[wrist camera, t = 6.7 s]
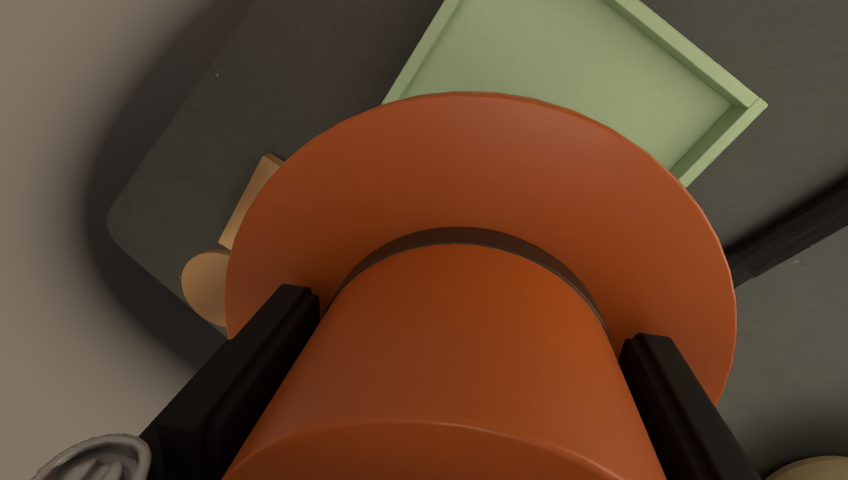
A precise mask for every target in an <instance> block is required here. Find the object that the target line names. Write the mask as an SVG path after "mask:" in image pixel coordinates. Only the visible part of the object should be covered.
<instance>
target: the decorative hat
mask: <svg viewBox="0 0 848 480" xmlns="http://www.w3.org/2000/svg"><path fill="white" fill-rule="evenodd" d="M765 480H848V457H844V456H819V457H812V458H807V459H803V460H800V461H796V462H793V463H791V464H788V465H786V466H784V467H782V468H780V469H779V470H777V471H775V472H774V473H772V474H771V475H770V476H769V477H767V478H766V479H765Z"/></svg>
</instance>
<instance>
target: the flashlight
mask: <svg viewBox="0 0 848 480" xmlns="http://www.w3.org/2000/svg"><path fill="white" fill-rule="evenodd" d="M847 225H848V181H847V182H845V183H844V184H842V185H840V186H839V187H838V188H836V189H834V190H832V191H831V192H829V193H828V194H825V195H824V196H822V197H821V198H819V199H817V200H816V201H814V202H812V203H811V204H809V205H807V206H805V207H804V208H802V209H801V210H799V211H797V212H796V213H795V214H792V215H791V216H790V217H788V218H786V219H784V220H782V221H781V222H779V223H777V224H776V225H774V226H772V227H770V228H769V229H767V230H765V231H764V232H762V233H761V234H759V235H757V236H755V237H754V238H752V239H750V241H747V242H746V243H744V244H742V245H740V246H739V247H737V248H736V249H734V250H732V251H731V252H729V253H727V254H726V255H725V257H726V260H727V263H728V265H729V268H730V271H731V277H732V282H733V288H734V289H735V287H737V286H739V285H740V284H742V283H744V282H746V281H747V280H749V279H751V278H754V277H757V276H759V275H760V274H762V273H764V272H765V271H767V270H769V269H771V268H773V267H775V266H776V265H778V264H779V263H782V262H783V261H785V260H787V259H789V258H791V257H792V256H794V255H795V254H798V253H799V252H801V251H803V250H805V249H807V248H809V247H810V246H811V245H812V244H815V243H816V242H818V241H821V240H822V239H824V238H825V237H828V236H829V235H831V234H832V233H834V232H835V231H838V230H840V229H842V228H844V227H845V226H847Z"/></svg>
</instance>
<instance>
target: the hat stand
mask: <svg viewBox="0 0 848 480" xmlns="http://www.w3.org/2000/svg"><path fill="white" fill-rule="evenodd" d="M283 163H284V162H283V161H282V160H280V159H279V158H277V157H276V156H274V155H273V154H271V153H267V154H265V155H263V156H262V158H261V160H260V162H259V164H258V166H257V168H256V170H255V172H254V174H253V176H252V178H251V179H250V181H249V183H248V185H247V187H246V189H245V191H244V193H243V195H242V197H241V199H240V201H239V203H238V205H237V206H236V208H235V210H234V212H233V214H232V216H231V218H230V220H229V222H228V224H227V226H226V228H225V230H224V232H223V233H222V235H221V237H220V239H219V241H218V242H219V243H220V244H222V245H223V246H225V247H226V248H228V249H229V250H232V246H233V242H234V239H235V236H236V234H237V232H238V229H239V227H240V225H241V223H242V220H243V218H244V216H245V214H246V211H247V210H248V208H249V207H250V205H251V204H252V202H253V200H254V199H255V197H256V196H257V194H258V193H259V191H260V190H261V188H262V187H263V185H264V184H265V183H266V182H267V181H268V180H269V178H270V177H271V176H272V175H273V174H274V173H275V172H276V171H277V170H278V168H279V167H280V166H281V165H282V164H283ZM230 253H231V251H228V250H224V249H210V250H206V251H203V252H201V253H199V254H197V255H196V256H194V257H193V258H192V259H191V260H189V262H188V263H187V264H186V266H185V267H184V270H183V273H182V280H181V282H182V289H183V292H184V295H185V297H186V299H187V301H188V303H189V304H190V306H191V307H192V308H193V309H194V310H195V311H196V312H197V313H198V314H199V315H200V316H201V317H203V318H204V319H206V320H207V321H209V322H211V323H213V324H216V325H219V326H223V327H226V323H225V305H224V289H225V280H226V271H227V265H228V261H229V257H230Z"/></svg>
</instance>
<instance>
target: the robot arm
mask: <svg viewBox="0 0 848 480" xmlns="http://www.w3.org/2000/svg"><path fill="white" fill-rule="evenodd" d="M319 323H320V301H319V296H318V295H314V294H312V291H311V288H310V287H305V286H298V285H291V284H282V285H281V286H279V288H278V289H277V290H276V291H275V292H274V293H273V294H272V295H271V297H270V298H269V299H268V300H267V301H266V302H265V303H264V304H263V305H262V307H261V308H260V309H259V310H258V311H257V312H256V313H255V314H254V315H253V317H252V318H251V319H250V320H249V321H248V322H247V323H246V324H245V325H244V327H243V328H242V329H241V330H240V331H239V332H238V333H237V334H236V335H235V337H234V338H233V339H230V340H228V341H226V342H225V343H224V344H223V345H222V346H221V347H220V348H219V349H218V350H217V351H216V352H215V354H214V355H213V356H212V357H211V358H210V359H209V360H208V361H207V362H206V363H205V365H203V367H202V368H201V369H200V370H199V371H198V372H197V373H196V374H195V375H194V376H193V378H192V379H191V380H190V381H189V382H188V383H187V384H186V385H185V386H184V387H183V388H182V390H181V391H180V392H179V393H178V394H177V395H176V396H175V397H174V398H173V399H172V401H171V402H170V403H169V404H168V405H167V406H166V407H165V408H164V409H163V410H162V411H161V413H160V414H159V415H158V416H157V417H156V418H155V419H154V420H153V421H152V422H151V423H150V425H149V426H148V427H147V428H146V429H145V430H144V431H143V432H142V433H141V434H140V435H139V437H137V436H133V435H129V434H107V435H102V436H98V437H93V438H90V439H88V440H85V441H83V442H80V443H78V444H75V445H73V446H71V447H70V448H68V449H66V450H64V451H63V452H61V453H59V454H58V455H56V456H55V457H53V458H52V459H51V460H50V461H49V462H48V463H46V464H45V465H44V466H43V467H41V468H40V469H39V470H38V472H37V473H36V474H35V475H34V477H33V478H32V479H31V480H221V479H222V478H223V476H224V474H225V473H226V471H227V470H228V468H229V466H230V465H231V463H232V462H233V460H234V458H235V457H236V455H237V454H238V452H239V450H240V449H241V447H242V446H243V444H244V442H245V441H246V439H247V438H248V436H249V435H250V433H251V431H252V430H253V428H254V427H255V425H256V423H257V422H258V420H259V419H260V417H261V415H262V414H263V412H264V411H265V409H266V407H267V406H268V404H269V403H270V401H271V400H272V398H273V396H274V395H275V393H276V392H277V390H278V388H279V387H280V385H281V384H282V382H283V380H284V379H285V377H286V376H287V374H288V372H289V371H290V369H291V368H292V366H293V364H294V363H295V361H296V360H297V358H298V357H299V355H300V353H301V352H302V350H303V349H304V347H305V345H306V344H307V342H308V341H309V339H310V337H311V336H312V334H313V333H314V331H315V329H316V328H317V326H318V325H319ZM618 364H619V366H620V368H621V371H622V373H623V376H624V378H625V380H626V383H627V385H628V388H629V390H630V392H631V395H632V397H633V400H634V402H635V404H636V407H637V409H638V412H639V414H640V416H641V419H642V421H643V424H644V426H645V429H646V431H647V433H648V436H649V438H650V441H651V443H652V445H653V448H654V450H655V453H656V455H657V457H658V460H659V462H660V465H661V467H662V469H663V472H664V474H665V477H666V479H667V480H762V479H761V478H760V476H759V475H758V473H757V472H756V470H755V468H754V467H753V465H752V464H751V462H750V461H749V459H748V457H747V456H746V454H745V453H744V451H743V450H742V448H741V446H740V445H739V443H738V442H737V440H736V439H735V437H734V435H733V434H732V432H731V431H730V429H729V428H728V426H727V424H726V423H725V421H724V420H723V419H722V417H721V416H720V414H719V413H718V411H717V409H716V408H715V406H714V405H713V403H712V402H711V400H710V398H709V397H708V395H707V394H706V392H705V391H704V389H703V387H702V386H701V384H700V383H699V381H698V380H697V378H696V376H695V375H694V373H693V372H692V370H691V368H690V367H689V365H688V364H687V362H686V361H685V359H684V357H683V356H682V354H681V353H680V351H679V350H678V348H677V346H676V345H675V343H674V342H673V340H672V339H671V338H670V337H667V336H661V335H654V334H647V333H637V334H636V335H635V336H634V338H633V339H630V338H627V339H626V340H625V341H624V343H623V346H622V349H621V353H620V356H619V359H618Z"/></svg>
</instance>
